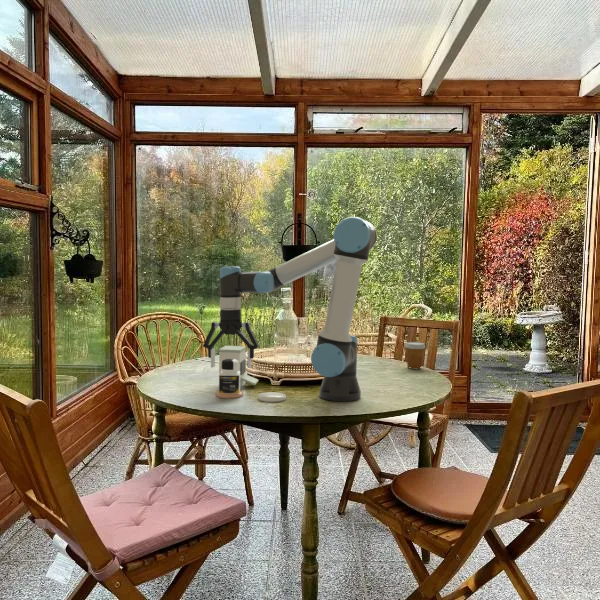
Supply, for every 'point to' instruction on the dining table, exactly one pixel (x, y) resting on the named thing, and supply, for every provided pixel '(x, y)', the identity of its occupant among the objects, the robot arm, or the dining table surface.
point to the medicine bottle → (229, 377)
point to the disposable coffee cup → (414, 354)
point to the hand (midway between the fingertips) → (231, 367)
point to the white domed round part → (271, 397)
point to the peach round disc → (229, 395)
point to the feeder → (239, 355)
